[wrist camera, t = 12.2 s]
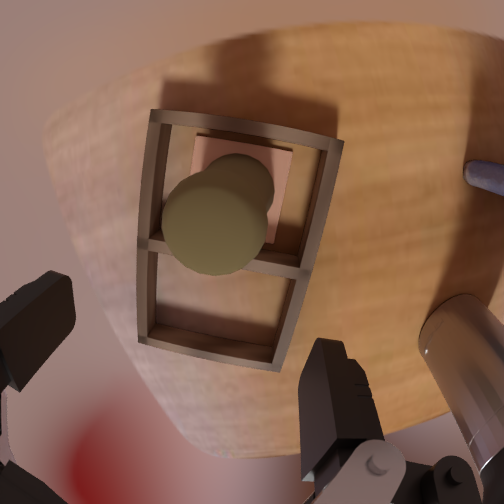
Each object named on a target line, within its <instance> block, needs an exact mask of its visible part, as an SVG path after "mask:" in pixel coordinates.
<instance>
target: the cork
mask: <svg viewBox="0 0 504 504" xmlns="http://www.w3.org/2000/svg"><path fill="white" fill-rule="evenodd" d="M274 193H275V189H274V183H273V179H272V177H271V175H270V173H269V171H268V169H267V168H266V167H265V166H264V165H263V164H262V163H261V162H260V161H259V160H257V159H255V158H253V157H251V156H249V155H246V154H238V153H233V154H228V155H223V156H221V157H219V158H217V159H216V160H214V161H212V162H211V163H210V165H209V166H208V167H207V168H206V169H205V170H204V171H201V172H197V173H194V174H193V175H191V176H189V177H187V178H186V179H184V180H182V181H181V182H180V183H179V184H178V185H177V186H176V187H175V188H174V190H173V191H172V192H171V193H170V194H169V197H168V199H167V202H166V204H165V207H164V210H163V212H162V231H163V235H164V239H165V243H166V244H167V246H168V248H169V249H170V251H171V253H172V254H173V256H174V257H175V258H176V259H177V260H179V261H180V262H181V263H182V264H183V265H184V266H185V267H187V268H189V269H191V270H194V271H196V272H198V273H201V274H206V275H212V276H217V275H225V274H231V273H233V272H235V271H237V270H240V269H242V268H244V267H245V266H246V265H247V264H248V263H249V262H250V261H251V260H253V259H254V258H255V257H256V256H257V255H258V253H259V251H260V250H261V248H262V246H263V244H264V242H265V240H266V234H267V228H268V217H267V213H268V211H269V209H270V207H271V205H272V203H273V199H274Z"/></svg>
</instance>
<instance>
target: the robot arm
mask: <svg viewBox="0 0 504 504" xmlns="http://www.w3.org/2000/svg"><path fill="white" fill-rule="evenodd" d="M75 320H76V312H75V306H74V297H73V289H72V281H71V279H70V278H69V276H66V275H63V274H61V273H58V272H55V271H52V270H50V271H48V272H46V273H45V274H43V275H42V276H41V277H39V278H38V279H37V280H35V281H33V282H31V283H28V284H26V285H24V286H22V287H21V288H19V289H18V290H17V291H15V292H14V294H13V295H10V296H9V297H8V298H6V301H3V302H1V303H0V504H68V503H67V502H65V501H64V500H63V499H62V498H61V497H59V496H58V495H57V494H56V493H55V492H54V491H53V490H52V489H50V488H49V487H48V486H47V485H46V484H45V483H44V482H43V481H41V480H39V479H38V478H36V477H34V476H33V475H31V474H30V473H28V472H27V471H25V470H24V469H22V468H21V467H19V466H18V465H17V464H16V460H15V458H14V455H13V453H12V451H11V449H10V446H9V440H8V426H7V395H6V391H5V388H6V387H7V385H9V386H11V387H12V388H14V389H15V390H17V391H18V392H21V390H22V389H23V388H24V387H25V385H26V384H27V383H28V382H29V380H30V379H31V378H32V377H33V375H34V374H35V373H36V372H37V371H38V370H39V368H40V367H41V366H42V365H43V364H44V362H45V361H46V360H47V359H48V358H49V356H50V355H51V354H52V353H53V352H54V351H55V349H56V348H57V347H58V346H59V345H60V344H61V343H62V341H63V340H64V339H65V338H66V337H67V336H68V335H69V334H70V332H71V331H72V330H73V328H74V325H75ZM419 350H420V353H421V355H422V357H423V358H424V360H425V362H426V364H427V366H428V367H429V369H430V371H431V373H432V375H433V377H434V379H435V381H436V382H437V384H438V386H439V388H440V390H441V392H442V394H443V396H444V398H445V400H446V402H447V404H448V406H449V408H450V410H451V412H452V414H453V416H454V418H455V420H456V422H457V424H458V426H459V429H460V431H461V433H462V435H463V437H464V440H465V442H466V444H467V446H468V448H469V450H470V453H471V455H472V458H473V460H474V463H475V465H476V467H477V470H478V473H479V475H480V478H481V481H482V483H483V487H484V492H483V501H482V502H481V498H480V495H479V491H478V488H477V484H476V481H475V477H474V474H473V471H472V469H471V467H470V466H469V464H468V463H467V462H466V461H465V460H463V459H462V458H460V457H457V456H446V457H444V458H442V459H441V460H439V461H438V462H437V463H436V464H435V465H434V466H429V465H423V464H418V463H413V462H409V461H405V459H404V456H403V455H402V453H401V452H400V450H399V449H398V448H396V447H395V446H393V445H392V444H391V443H389V442H386V441H385V439H384V436H383V432H382V428H381V425H380V421H379V418H378V414H377V410H376V407H375V403H374V400H373V399H372V393H371V390H370V388H369V383H368V380H367V377H366V374H365V371H364V370H363V369H362V367H361V366H360V365H359V364H358V362H357V361H356V360H355V359H348V358H347V354H346V350H345V347H344V344H343V342H342V341H338V340H331V339H324V338H317V339H316V341H315V342H314V345H313V347H312V350H311V352H310V355H309V357H308V359H307V362H306V364H305V366H304V369H303V371H302V373H301V376H300V380H299V386H298V400H299V421H300V446H301V480H302V481H314V484H315V491H314V492H313V493H312V494H311V495H310V496H309V497H308V499H307V500H306V501H305V502H304V503H303V504H504V325H503V324H502V323H501V322H500V321H499V320H498V319H497V318H496V317H495V315H494V314H493V313H492V312H491V311H490V310H489V309H488V308H487V307H486V306H485V305H484V304H483V303H482V302H481V301H480V300H479V299H478V298H476V297H475V296H473V295H469V294H464V295H459V296H456V297H453V298H451V299H449V300H447V301H446V302H445V303H443V304H442V305H441V306H439V307H438V308H437V309H436V310H435V311H434V312H433V313H432V315H431V316H430V317H429V318H428V320H427V321H426V323H425V325H424V326H423V329H422V331H421V334H420V337H419Z"/></svg>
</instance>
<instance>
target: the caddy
mask: <svg viewBox="0 0 504 504" xmlns="http://www.w3.org/2000/svg"><path fill="white" fill-rule="evenodd" d="M172 124H173V125H183V126H192V127H200V128H208V129H215V130H223V131H229V132H236V133H242V134H248V135H254V136H259V137H265V138H270V139H275V140H280V141H285V142H290V143H294V144H299V145H303V146H308V147H312V148H316V149H321V150H322V153H321V157H320V162H319V167H318V171H317V176H316V180H315V185H314V189H313V193H312V198H311V202H310V206H309V210H308V215H307V219H306V223H305V227H304V231H303V235H302V239H301V243H300V247H299V251H298V255H297V256H295V255H290V254H285V253H280V252H274V251H269V250H264V249H261V250H260V251H259V253H258V255H257V256H256V257H255V258H254V259H253V260H251V261H250V262H249V263H248V264H247V265H246V266H245V267H244V268H242V269H243V270H248V271H253V272H258V273H264V274H269V275H274V276H280V277H285V278H290V279H291V282H290V286H289V289H288V293H287V297H286V300H285V304H284V308H283V311H282V315H281V318H280V322H279V325H278V329H277V332H276V336H275V339H274V343H273V346H272V347H268V346H262V345H256V344H251V343H245V342H240V341H234V340H229V339H224V338H219V337H214V336H210V335H205V334H200V333H196V332H191V331H187V330H183V329H178V328H174V327H170V326H166V325H162V324H158V323H156V280H157V258H158V253H163V254H168V255H173V254H172V253H171V251H170V249H169V248H168V246H167V244H166V243H165V239H164V235H163V231H162V230H160V217H161V206H162V196H163V186H164V178H165V170H166V162H167V155H168V147H169V141H170V134H171V128H172ZM343 145H344V141H343V140H339V139H335V138H331V137H328V136H324V135H320V134H315V133H311V132H307V131H303V130H298V129H293V128H289V127H284V126H279V125H274V124H269V123H263V122H258V121H252V120H246V119H239V118H233V117H226V116H219V115H211V114H202V113H193V112H183V111H172V110H158V109H151V112H150V118H149V124H148V131H147V138H146V145H145V153H144V161H143V170H142V180H141V190H140V203H139V217H138V236H137V274H136V292H137V329H138V343H142V344H145V345H149V346H153V347H156V348H160V349H164V350H168V351H172V352H176V353H180V354H184V355H189V356H193V357H197V358H202V359H207V360H211V361H216V362H221V363H226V364H231V365H237V366H242V367H248V368H254V369H260V370H266V371H273V372H280V371H281V368H282V365H283V362H284V359H285V356H286V353H287V350H288V347H289V344H290V341H291V338H292V335H293V332H294V329H295V326H296V323H297V320H298V317H299V313H300V310H301V307H302V304H303V300H304V297H305V294H306V290H307V287H308V284H309V280H310V277H311V273H312V270H313V266H314V263H315V259H316V256H317V252H318V248H319V245H320V241H321V237H322V234H323V230H324V226H325V222H326V218H327V214H328V210H329V206H330V202H331V198H332V194H333V190H334V186H335V181H336V177H337V173H338V168H339V164H340V159H341V155H342V150H343ZM233 153H238V154H246V155H249V156H251V157H253V158H255V159H257V160H259V161H260V162H261V163H262V164H263V165H264V166H265V167H266V168H267V169H268V171H269V173H270V175H271V177H272V179H273V183H274V189H275V193H274V199H273V203H272V205H271V207H270V209H269V211H268V213H267V217H268V228H267V234H266V240H265V242H266V243H271V244H274V239H275V235H276V230H277V225H278V221H279V216H280V212H281V207H282V202H283V198H284V193H285V188H286V183H287V179H288V174H289V169H290V164H291V159H292V154H293V152H290V151H285V150H280V149H275V148H270V147H265V146H259V145H254V144H248V143H242V142H236V141H230V140H224V139H217V138H210V137H202V136H196V139H195V145H194V152H193V158H192V165H191V172H190V176H191V175H193V174H194V173H197V172H201V171H204V170H205V169H206V168H207V167H208V166H209V165H210V163H211V162H212V161H214V160H216V159H217V158H219V157H221V156H223V155H228V154H233Z"/></svg>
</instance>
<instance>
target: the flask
mask: <svg viewBox="0 0 504 504" xmlns="http://www.w3.org/2000/svg"><path fill="white" fill-rule="evenodd" d="M466 166H467V167H466ZM465 167H466V168H465ZM463 169H465V170H464V172H463V173H464V176H463V178H464V179H465V180H466V182H467V183H468V184H470V185H472V186H476V187H479V188H482V189H485V190H488V191H490V192H493V193H496V194H499V195H502V196H504V165H501V164H497V163H493V162H487V161H482V160H471V161H469V162H466V164H465V166H464V168H463Z"/></svg>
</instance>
